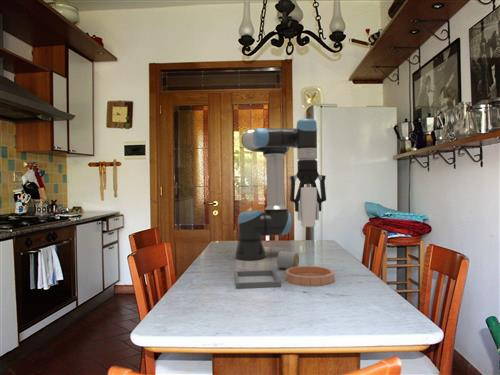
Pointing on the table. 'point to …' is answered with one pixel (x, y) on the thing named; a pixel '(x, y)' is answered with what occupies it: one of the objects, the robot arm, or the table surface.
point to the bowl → (309, 275)
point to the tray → (257, 284)
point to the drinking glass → (308, 206)
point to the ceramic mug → (287, 259)
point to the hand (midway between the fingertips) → (308, 219)
